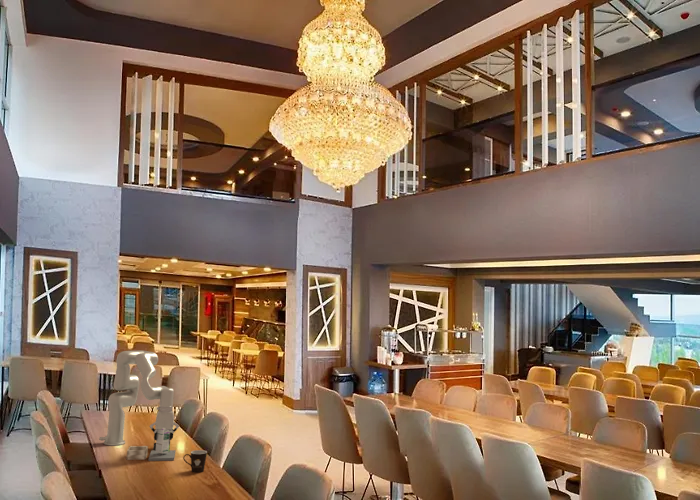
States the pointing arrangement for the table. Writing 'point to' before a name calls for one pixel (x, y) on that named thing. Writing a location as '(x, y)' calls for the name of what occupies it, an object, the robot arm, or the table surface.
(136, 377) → the robot arm
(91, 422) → the table surface
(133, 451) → the frame
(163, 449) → the syrup box
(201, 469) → the coffee mug
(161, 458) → the slate board
